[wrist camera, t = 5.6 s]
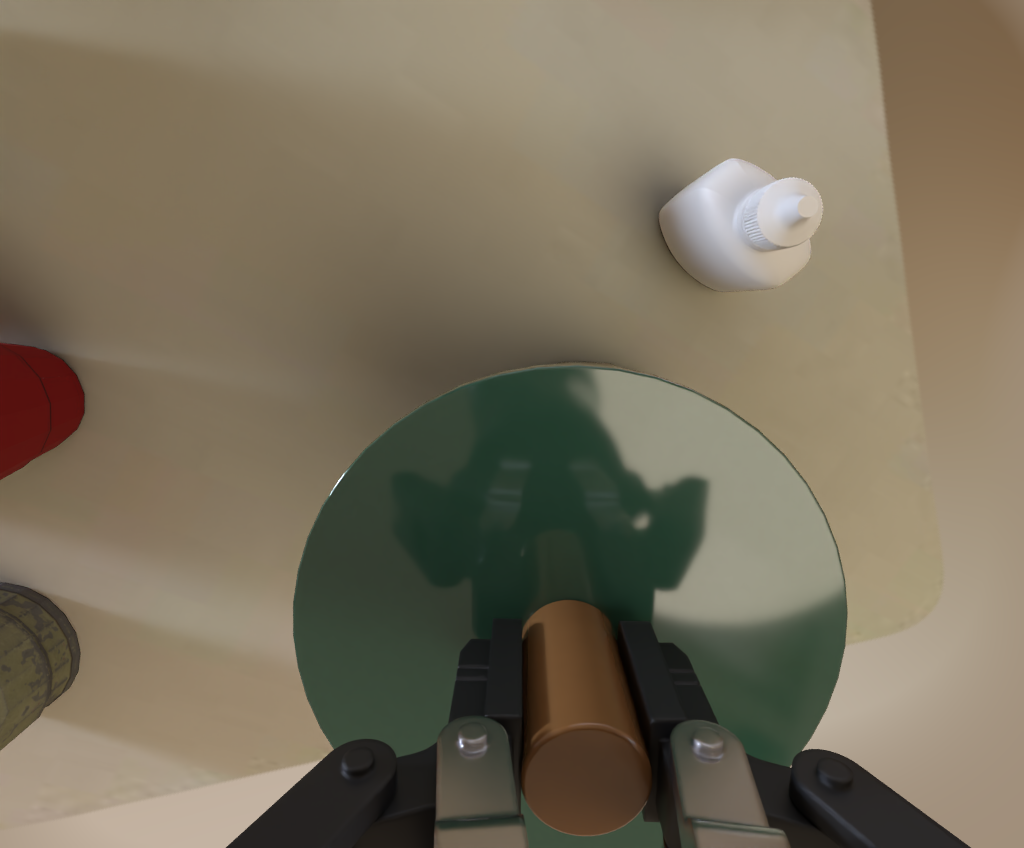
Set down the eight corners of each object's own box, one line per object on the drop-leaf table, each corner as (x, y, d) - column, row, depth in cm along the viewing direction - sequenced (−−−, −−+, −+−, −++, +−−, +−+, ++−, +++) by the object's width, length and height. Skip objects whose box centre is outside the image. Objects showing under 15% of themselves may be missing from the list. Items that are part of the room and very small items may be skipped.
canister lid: (290, 356, 15) (155, 393, 9) (859, 363, 15) (1061, 405, 9) (321, 827, 18) (233, 1064, 12) (795, 838, 18) (919, 1083, 12)
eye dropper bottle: (736, 177, 31) (865, 101, 19) (751, 285, 32) (881, 276, 20) (653, 196, 31) (730, 133, 20) (670, 302, 32) (754, 304, 21)
